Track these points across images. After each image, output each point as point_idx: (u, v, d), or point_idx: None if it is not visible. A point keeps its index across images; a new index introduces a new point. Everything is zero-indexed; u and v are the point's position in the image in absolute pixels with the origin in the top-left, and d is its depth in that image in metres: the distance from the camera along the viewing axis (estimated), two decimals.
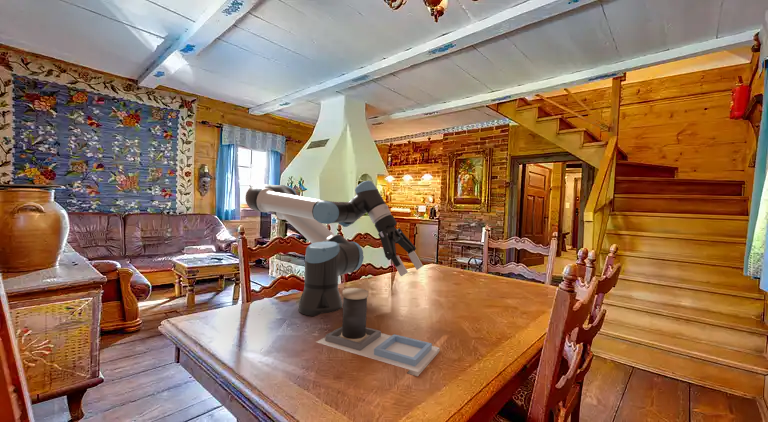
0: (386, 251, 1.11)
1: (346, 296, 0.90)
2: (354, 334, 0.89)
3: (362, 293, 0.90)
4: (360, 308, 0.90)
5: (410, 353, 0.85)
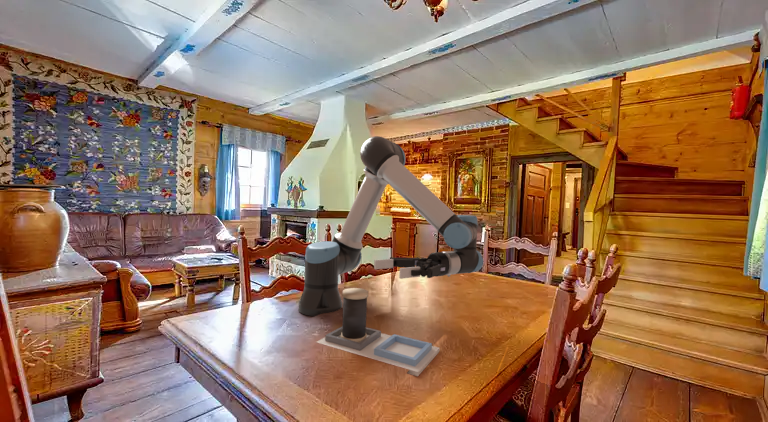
0: (433, 271, 0.94)
1: (346, 296, 0.90)
2: (354, 334, 0.89)
3: (362, 293, 0.90)
4: (360, 308, 0.90)
5: (410, 353, 0.85)
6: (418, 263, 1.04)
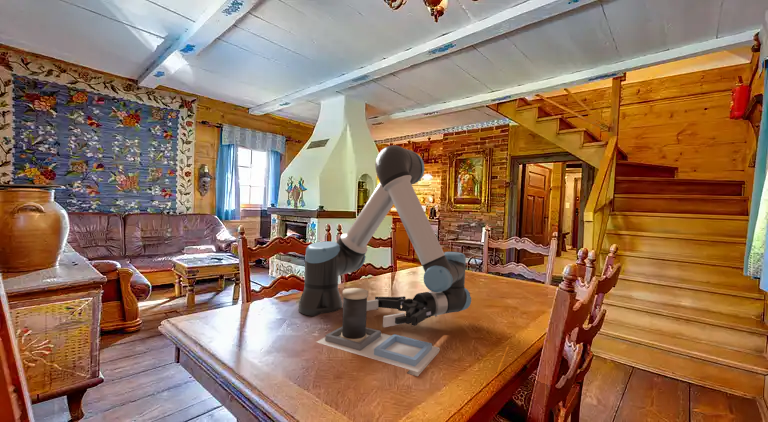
0: (417, 318, 0.91)
1: (346, 296, 0.90)
2: (354, 334, 0.89)
3: (362, 293, 0.90)
4: (360, 308, 0.90)
5: (410, 353, 0.85)
6: (404, 305, 1.01)
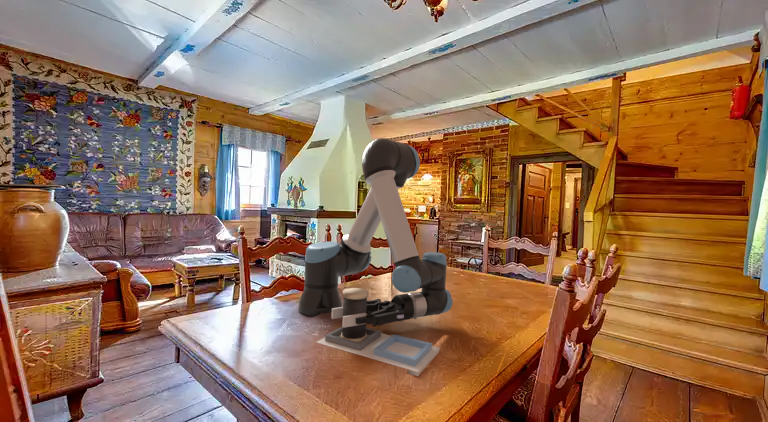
0: (379, 319, 0.89)
1: (346, 296, 0.90)
2: (354, 334, 0.89)
3: (362, 293, 0.90)
4: (360, 308, 0.90)
5: (410, 353, 0.85)
6: (380, 307, 0.98)
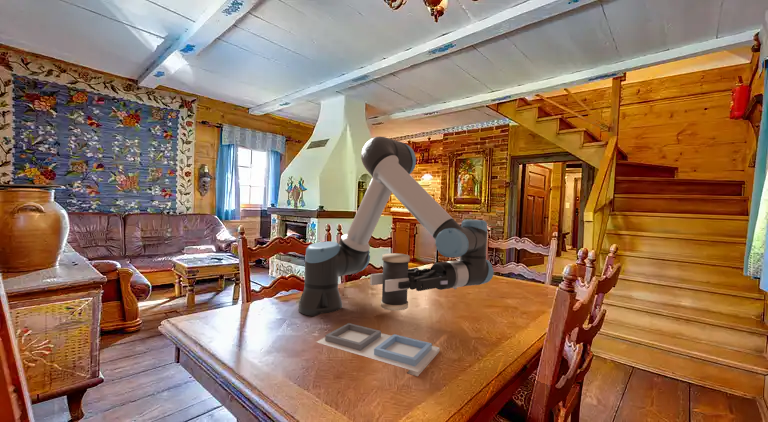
0: (424, 284, 0.83)
1: (387, 259, 0.84)
2: (396, 300, 0.83)
3: (404, 256, 0.84)
4: (402, 272, 0.84)
5: (410, 353, 0.85)
6: (420, 275, 0.92)
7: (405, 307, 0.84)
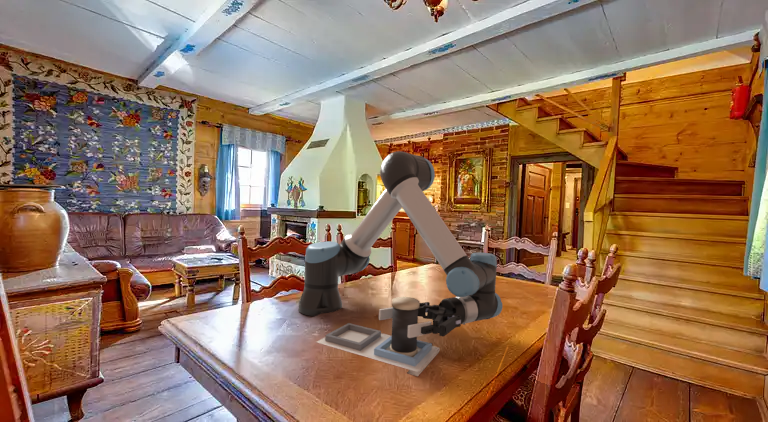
0: (446, 328, 0.81)
1: (397, 306, 0.83)
2: (406, 347, 0.82)
3: (414, 303, 0.83)
4: (412, 319, 0.83)
5: None
6: (430, 312, 0.91)
7: (415, 354, 0.84)
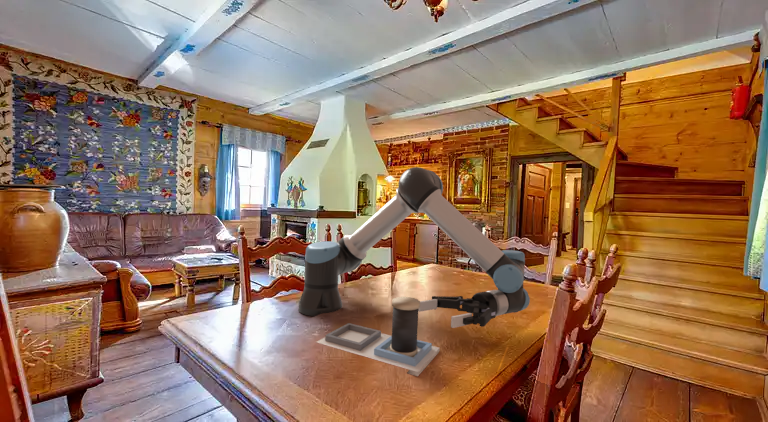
0: (485, 319, 0.88)
1: (397, 306, 0.82)
2: (406, 347, 0.82)
3: (415, 303, 0.83)
4: (412, 319, 0.83)
5: None
6: (464, 305, 0.98)
7: (415, 354, 0.83)
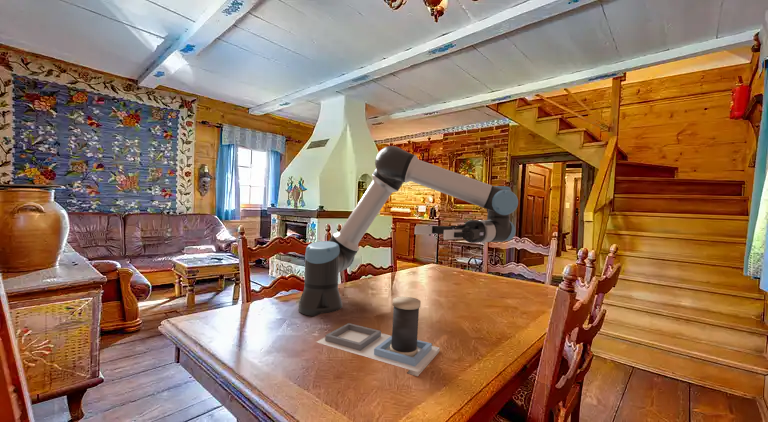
0: (474, 234, 0.99)
1: (398, 306, 0.83)
2: (406, 347, 0.82)
3: (415, 303, 0.84)
4: (413, 319, 0.83)
5: None
6: (456, 229, 1.09)
7: (415, 354, 0.83)
